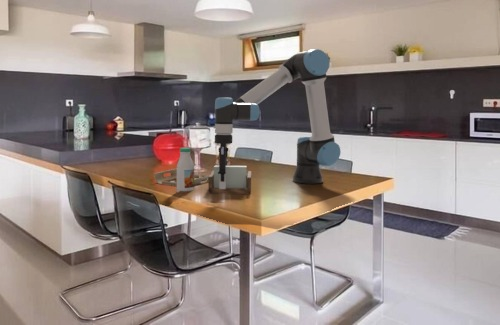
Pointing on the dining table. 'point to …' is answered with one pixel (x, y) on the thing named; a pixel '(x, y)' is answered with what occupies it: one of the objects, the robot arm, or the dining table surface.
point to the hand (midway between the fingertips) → (223, 187)
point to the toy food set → (175, 178)
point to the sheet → (232, 176)
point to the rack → (230, 190)
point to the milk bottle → (185, 171)
